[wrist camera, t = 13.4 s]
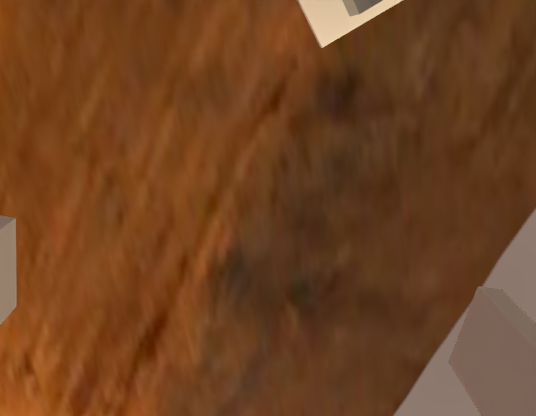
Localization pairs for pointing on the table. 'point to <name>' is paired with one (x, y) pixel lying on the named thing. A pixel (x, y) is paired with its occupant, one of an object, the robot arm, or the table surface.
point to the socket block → (340, 16)
